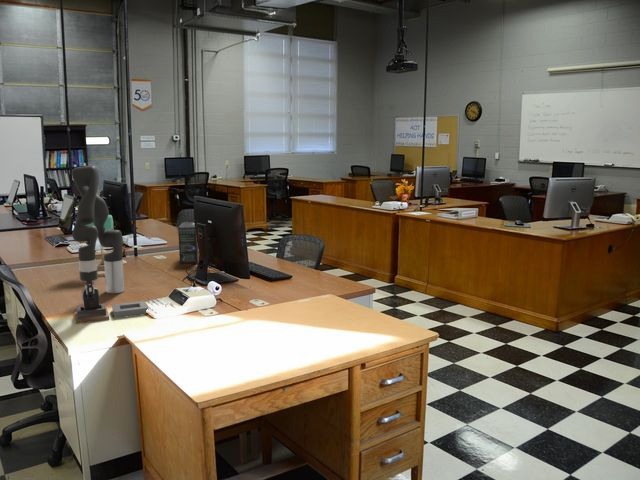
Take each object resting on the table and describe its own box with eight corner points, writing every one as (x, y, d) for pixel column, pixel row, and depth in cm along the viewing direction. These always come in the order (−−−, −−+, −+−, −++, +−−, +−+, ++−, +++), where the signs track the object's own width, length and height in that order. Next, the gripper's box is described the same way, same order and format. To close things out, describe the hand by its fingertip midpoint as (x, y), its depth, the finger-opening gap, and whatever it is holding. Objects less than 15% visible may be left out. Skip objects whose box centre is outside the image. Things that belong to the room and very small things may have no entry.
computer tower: (183, 256, 388) (181, 219, 383) (201, 256, 390) (199, 218, 385) (179, 263, 366) (177, 224, 361) (197, 263, 368) (196, 224, 363)
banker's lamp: (117, 268, 354) (113, 212, 348) (116, 275, 335) (112, 217, 329) (90, 269, 350) (85, 213, 343) (87, 278, 330) (83, 218, 324)
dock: (112, 310, 269) (112, 304, 269) (145, 306, 276) (144, 300, 275) (114, 318, 259) (114, 311, 258) (148, 313, 265) (148, 307, 264)
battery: (98, 309, 263) (96, 286, 261) (100, 311, 260) (98, 288, 258) (82, 312, 260) (80, 288, 257) (84, 314, 257) (82, 290, 254)
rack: (74, 314, 264) (74, 305, 263) (106, 310, 269) (106, 301, 268) (75, 323, 251) (75, 314, 250) (109, 319, 257) (108, 310, 256)
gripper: (78, 266, 261) (81, 302, 264) (79, 273, 248) (82, 311, 251) (96, 265, 264) (98, 300, 267) (98, 271, 251) (100, 308, 255)
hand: (91, 305), depth 259 cm, fingers closed on battery, 4 cm apart
